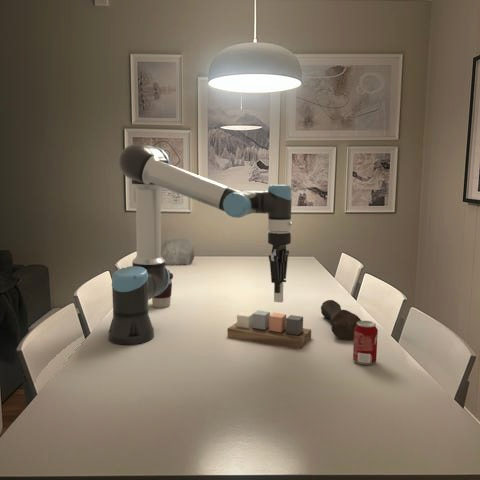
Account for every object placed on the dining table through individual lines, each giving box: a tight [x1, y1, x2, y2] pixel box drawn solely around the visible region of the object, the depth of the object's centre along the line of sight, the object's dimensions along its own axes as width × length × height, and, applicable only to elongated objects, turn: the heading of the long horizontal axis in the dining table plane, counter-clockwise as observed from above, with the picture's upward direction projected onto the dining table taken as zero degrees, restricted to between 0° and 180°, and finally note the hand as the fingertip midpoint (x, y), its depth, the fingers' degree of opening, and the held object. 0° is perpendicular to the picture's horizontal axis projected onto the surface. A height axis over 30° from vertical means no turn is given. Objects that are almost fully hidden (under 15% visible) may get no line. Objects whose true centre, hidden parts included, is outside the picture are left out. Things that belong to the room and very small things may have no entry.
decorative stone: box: [161, 236, 195, 266], centre depth 294 cm, size 17×20×10 cm
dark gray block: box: [286, 314, 304, 335], centre depth 163 cm, size 4×4×5 cm
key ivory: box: [236, 311, 253, 328], centre depth 170 cm, size 4×4×5 cm
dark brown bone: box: [320, 299, 362, 341], centre depth 177 cm, size 11×10×28 cm
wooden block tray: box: [226, 322, 312, 350], centre depth 167 cm, size 12×26×3 cm, turn 65°
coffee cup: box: [151, 269, 174, 309], centre depth 204 cm, size 10×10×15 cm
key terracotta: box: [269, 312, 287, 332], centre depth 165 cm, size 4×4×5 cm
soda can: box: [352, 320, 379, 366], centre depth 145 cm, size 7×7×12 cm
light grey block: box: [252, 310, 271, 330], centre depth 168 cm, size 4×4×5 cm
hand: (278, 301), depth 164 cm, fingers closed
